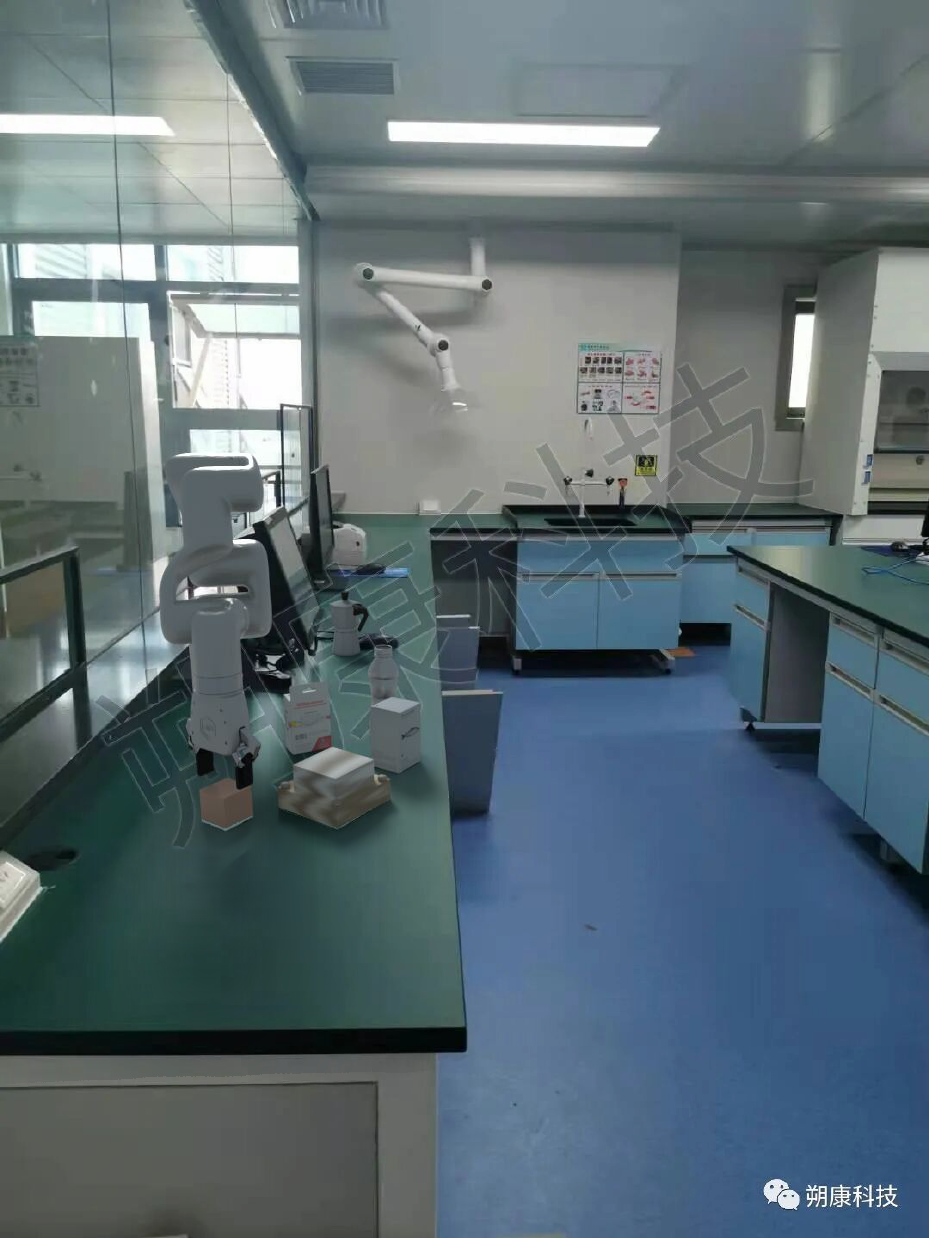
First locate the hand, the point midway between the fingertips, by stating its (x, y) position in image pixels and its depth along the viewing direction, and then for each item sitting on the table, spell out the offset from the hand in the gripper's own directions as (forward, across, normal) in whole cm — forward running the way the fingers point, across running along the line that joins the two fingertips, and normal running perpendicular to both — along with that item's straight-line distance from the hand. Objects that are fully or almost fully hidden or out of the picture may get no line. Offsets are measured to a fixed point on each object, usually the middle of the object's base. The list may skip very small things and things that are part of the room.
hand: (225, 779), depth 141 cm
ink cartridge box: (+7, -12, +32) cm, 34 cm away
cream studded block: (+8, +10, +16) cm, 20 cm away
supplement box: (+7, +8, +36) cm, 37 cm away
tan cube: (+8, -1, 0) cm, 8 cm away
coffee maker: (+6, -52, +90) cm, 103 cm away
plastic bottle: (+7, -3, +46) cm, 46 cm away
